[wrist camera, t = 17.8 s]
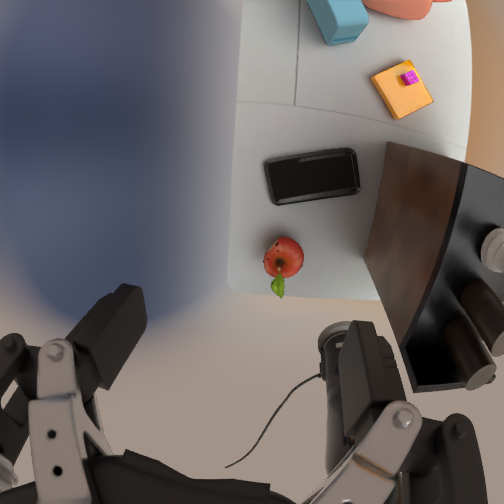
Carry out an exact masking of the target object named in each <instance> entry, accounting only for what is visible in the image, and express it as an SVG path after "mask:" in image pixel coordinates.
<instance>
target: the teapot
mask: <svg viewBox="0 0 504 504" xmlns="http://www.w3.org/2000/svg"><path fill="white" fill-rule="evenodd" d="M449 1H452V0H361V2H362V4H363V5H365V6H366V7H367V8H369V9H374V10H376V11H379V12H381V13H384V14H387V15H390V16H394V17H399V18H403V19H409V20H420V19H423V18H424V17H425V16H426V15H427V14H428V12H429V11H430V8H431V5H432V2H449Z"/></svg>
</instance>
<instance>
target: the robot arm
mask: <svg viewBox="0 0 504 504" xmlns="http://www.w3.org/2000/svg"><path fill="white" fill-rule="evenodd" d="M146 325H147V314H146V309H145V303H144V296H143V291H142V288H141V287H139V286H134V285H129V284H125V283H123V284H121V285H120V286H119V287H118V288H117V289H116V290H115V292H114V293H109V294H108V295H106V296H104V297H102V298H101V299H99V300H98V301H97V303H96V304H95V305H94V306H93V307H92V309H90V310H89V311H88V313H87V315H85V316H84V317H83V318H82V319H81V320H80V322H79V323H78V324H77V325H76V326H75V327H74V329H73V330H72V331H71V332H70V333H69V335H68V336H67V337H66V338H65V339H60V338H59V339H53V340H50V341H48V342H46V343H45V344H44V345H43V346H42V347H36V346H28V345H27V344H26V342H25V340H24V338H23V337H22V335H20V334H18V333H11V334H8V335H6V336H4V337H3V338H2V339H1V340H0V504H296V503H295V502H293V501H292V500H290V499H288V498H287V497H285V496H283V495H281V494H278V493H276V492H273V491H270V484H267V483H258V482H251V481H243V480H236V479H192V478H189V477H187V476H185V475H183V474H181V473H179V472H177V471H176V470H174V469H172V468H170V467H168V466H167V465H165V464H163V463H161V462H160V461H158V460H155V459H152V458H149V457H146V456H143V455H140V454H138V453H135V452H133V451H130V450H127V449H126V450H125V452H124V454H123V455H113V452H112V450H111V448H110V445H109V443H108V442H107V439H106V437H105V434H104V430H103V426H102V421H101V417H100V412H99V407H98V403H97V397H96V394H95V391H96V389H97V388H98V387H100V388H103V389H105V390H109V389H110V387H111V385H112V384H113V382H114V380H115V379H116V377H117V375H118V374H119V372H120V370H121V368H122V367H123V365H124V364H125V362H126V360H127V359H128V357H129V355H130V354H131V352H132V351H133V349H134V347H135V346H136V344H137V343H138V341H139V339H140V338H141V336H142V335H143V333H144V331H145V329H146ZM320 350H321V363H320V373H319V374H316V375H314V376H312V377H310V378H308V379H306V380H305V381H303V382H301V383H300V384H298V385H297V386H296V387H295V388H293V389H292V390H291V391H290V393H289V394H288V396H287V397H286V398H285V399H284V401H283V402H282V403H281V405H280V406H279V407H278V408H277V410H276V411H275V413H274V414H273V416H272V417H271V419H270V421H269V422H268V424H267V425H266V427H265V429H264V431H263V432H262V434H261V436H260V437H259V439H258V441H257V443H256V444H255V445H254V446H253V448H252V449H251V450H250V451H249V452H248V453H247V454H246V455H245V456H244V457H243V458H241V459H240V460H238V461H237V462H235V463H233V464H231V465H229V466H227V467H225V468H228V467H230V466H232V465H234V464H236V463H238V462H239V461H241V460H243V459H244V458H245V457H246V456H248V455H249V454H250V453H251V452H252V451H253V449H254V448H255V447H256V445H257V444H258V442H259V441H260V439H261V438H262V436H263V434H264V433H265V431H266V429H267V427H268V426H269V424H270V423H271V421H272V420H273V418H274V417H275V415H276V414H277V413H278V411H279V410H280V408H281V407H282V406H283V405H284V403H285V402H286V401H287V400H288V398H289V397H290V396H291V394H292V393H293V392H294V391H295V390H296V389H297V388H299V387H300V386H301V385H303V384H305V383H307V382H308V381H310V380H312V379H314V378H316V377H318V378H321V377H322V379H323V380H324V381H326V387H327V411H328V414H327V435H326V436H327V437H326V453H325V469H326V473H327V475H328V476H327V478H326V479H325V480H324V481H323V482H322V483H321V484H320V485H319V486H318V487H317V488H316V489H315V490H314V491H313V492H312V493H311V494H310V495H309V496H307V497H306V499H304V500H303V501H302V502H301V503H300V504H488V500H487V491H486V484H485V477H484V471H483V465H482V461H481V455H480V451H479V447H478V442H477V438H476V434H475V430H474V426H473V424H472V422H471V421H470V419H468V418H467V417H466V416H464V415H462V414H458V413H455V414H451V415H450V416H448V417H447V418H446V419H445V420H444V421H443V422H442V421H437V420H432V419H428V418H424V417H421V414H420V412H419V410H418V409H417V408H416V407H415V406H414V405H412V404H411V403H409V402H407V400H406V396H405V392H404V388H403V385H402V381H401V377H400V374H399V371H398V368H397V364H396V360H395V359H394V354H393V351H392V348H391V345H390V344H389V343H388V342H387V341H386V339H385V338H384V337H383V336H377V334H376V330H375V327H374V324H373V322H367V321H357V320H353V321H352V322H351V324H350V326H349V329H348V330H342V331H338V332H335V333H333V334H332V335H330V336H329V337H328V338H327V339H326V340H325V342H324V345H323V347H322V348H320ZM13 380H14V381H15V382H16V383H17V385H18V388H17V389H16V391H15V392H14V394H13V395H12V397H11V398H10V400H9V402H8V403H7V405H6V406H5V408H4V409H2V407H1V398H2V396H3V395H4V393H5V392H6V390H7V389H8V387H9V386H10V384H11V383H12V381H13ZM29 434H30V445H31V456H32V464H33V470H34V477H35V481H33V482H31V483H27V484H24V485H21V486H18V487H15V488H12V485H16V484H17V482H18V477H17V475H16V474H15V473H14V470H13V466H14V464H15V462H16V460H17V458H18V456H19V454H20V452H21V450H22V448H23V446H24V444H25V442H26V440H27V438H28V436H29ZM400 472H402V477H401V473H400Z"/></svg>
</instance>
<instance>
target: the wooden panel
mask: <svg viewBox="0 0 504 504" xmlns="http://www.w3.org/2000/svg"><path fill="white" fill-rule="evenodd" d="M461 163H462V162H461V161H458V160H455V159H452V158H449V157H445V156H442V155H439V154H435V153H432V152H428V151H425V150H421V149H417V148H413V147H409V146H405V145H401V144H397V143H393V142H387V149H386V155H385V162H384V168H383V174H382V180H381V185H380V191H379V196H378V201H377V206H376V211H375V215H374V220H373V224H372V229H371V233H370V237H369V241H368V245H367V249H366V253H365V257H364V261H365V264H366V266H367V268H368V270H369V273H370V275H371V277H372V280H373V282H374V284H375V287H376V289H377V292H378V294H379V296H380V299H381V301H382V304H383V306H384V309H385V311H386V314H387V316H388V319H389V322H390V325H391V327H392V330H393V332H394V335H395V338H396V341H397V344H398V347H399V346H400V344H401V342H402V340H403V338H404V336H405V334H406V332H407V330H408V328H409V326H410V324H411V321H412V319H413V317H414V315H415V313H416V310H417V308H418V306H419V304H420V301H421V299H422V296H423V294H424V292H425V289H426V287H427V284H428V282H429V279H430V276H431V274H432V271H433V268H434V265H435V263H436V260H437V257H438V254H439V251H440V248H441V245H442V241H443V238H444V235H445V232H446V228H447V225H448V221H449V217H450V213H451V210H452V206H453V202H454V197H455V193H456V188H457V184H458V179H459V174H460V168H461Z"/></svg>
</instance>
